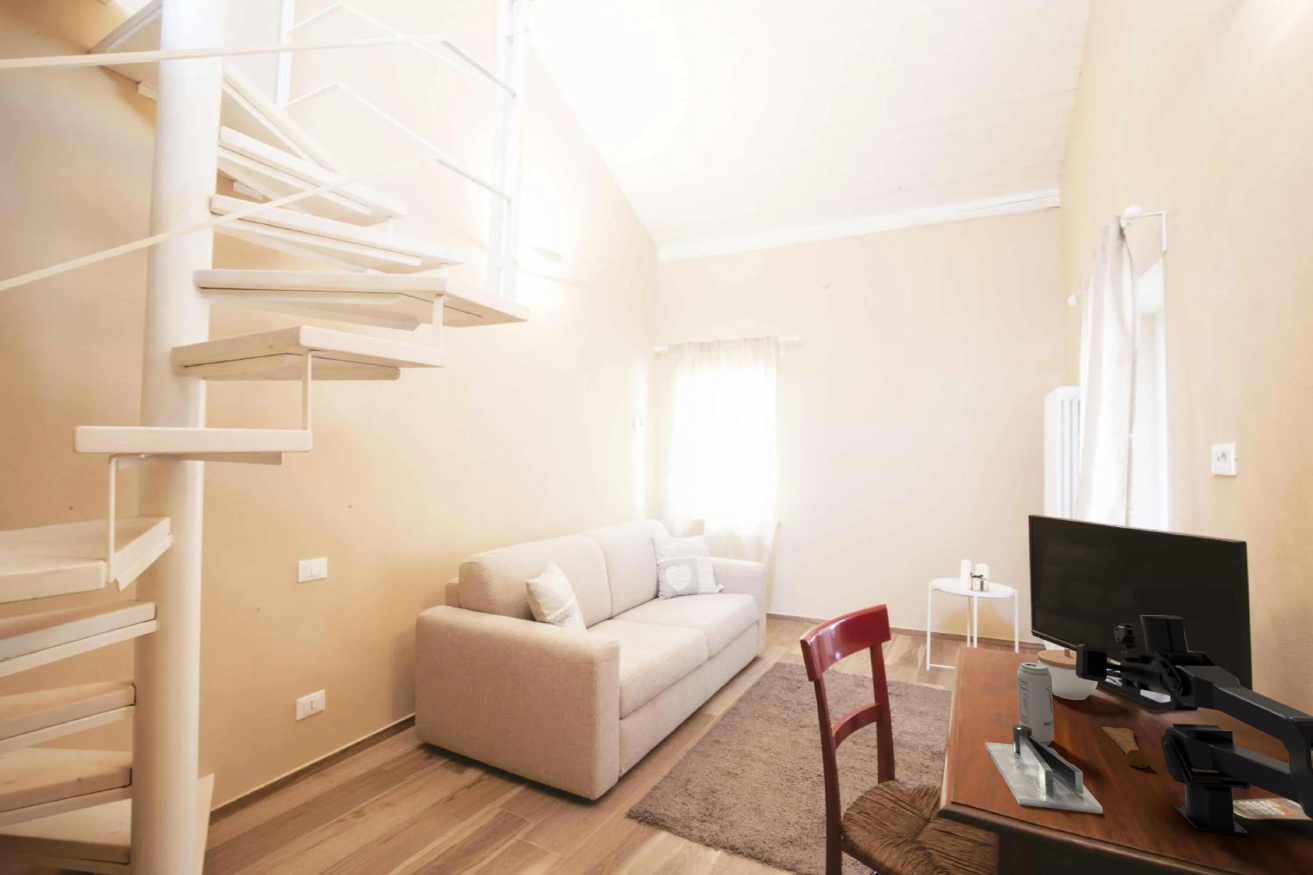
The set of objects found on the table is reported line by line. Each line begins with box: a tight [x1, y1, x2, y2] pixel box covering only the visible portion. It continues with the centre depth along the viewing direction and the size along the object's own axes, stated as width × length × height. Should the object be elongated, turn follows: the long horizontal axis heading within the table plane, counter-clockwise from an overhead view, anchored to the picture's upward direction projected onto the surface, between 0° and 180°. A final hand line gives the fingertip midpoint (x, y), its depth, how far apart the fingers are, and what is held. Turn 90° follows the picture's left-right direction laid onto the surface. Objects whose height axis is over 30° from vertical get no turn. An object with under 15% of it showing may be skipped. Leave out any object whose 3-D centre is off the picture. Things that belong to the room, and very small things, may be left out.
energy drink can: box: [1016, 661, 1055, 746], centre depth 128 cm, size 6×6×15 cm
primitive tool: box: [1101, 726, 1151, 769], centre depth 124 cm, size 19×6×4 cm, turn 157°
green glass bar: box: [1028, 735, 1084, 794], centre depth 112 cm, size 14×1×4 cm, turn 178°
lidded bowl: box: [1037, 648, 1099, 701], centre depth 153 cm, size 13×13×11 cm
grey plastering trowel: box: [984, 724, 1103, 814], centre depth 113 cm, size 22×12×5 cm, turn 166°
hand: (1106, 664), depth 124 cm, fingers open, 9 cm apart
